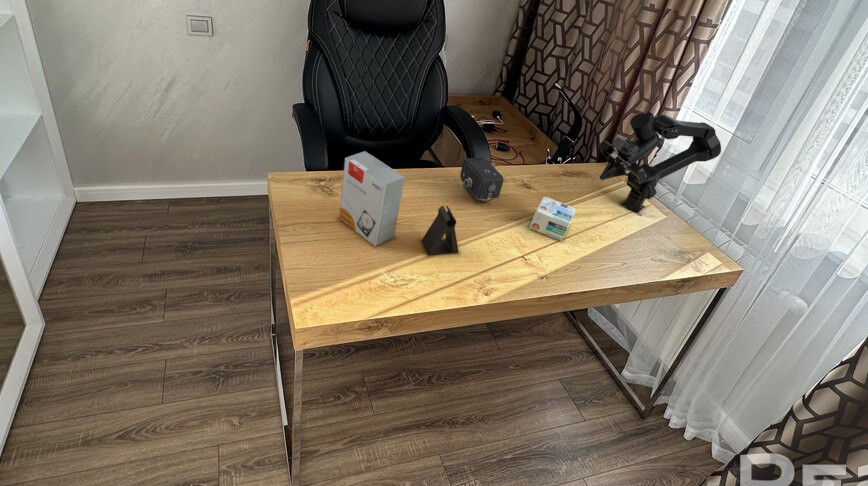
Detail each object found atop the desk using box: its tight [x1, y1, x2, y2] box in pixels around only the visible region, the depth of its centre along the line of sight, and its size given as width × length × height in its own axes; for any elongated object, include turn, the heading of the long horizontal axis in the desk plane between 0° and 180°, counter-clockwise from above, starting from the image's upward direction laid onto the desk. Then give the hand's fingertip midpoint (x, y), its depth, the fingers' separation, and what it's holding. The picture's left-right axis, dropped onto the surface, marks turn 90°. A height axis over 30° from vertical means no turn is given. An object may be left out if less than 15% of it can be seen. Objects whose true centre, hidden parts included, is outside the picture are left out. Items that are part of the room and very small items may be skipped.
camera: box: [459, 157, 505, 202], centre depth 163 cm, size 11×11×15 cm
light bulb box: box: [529, 195, 576, 242], centre depth 156 cm, size 11×7×11 cm
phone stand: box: [421, 205, 459, 256], centre depth 137 cm, size 9×6×12 cm, turn 106°
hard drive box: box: [338, 150, 406, 247], centre depth 136 cm, size 16×8×20 cm, turn 47°
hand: (600, 178), depth 163 cm, fingers closed
